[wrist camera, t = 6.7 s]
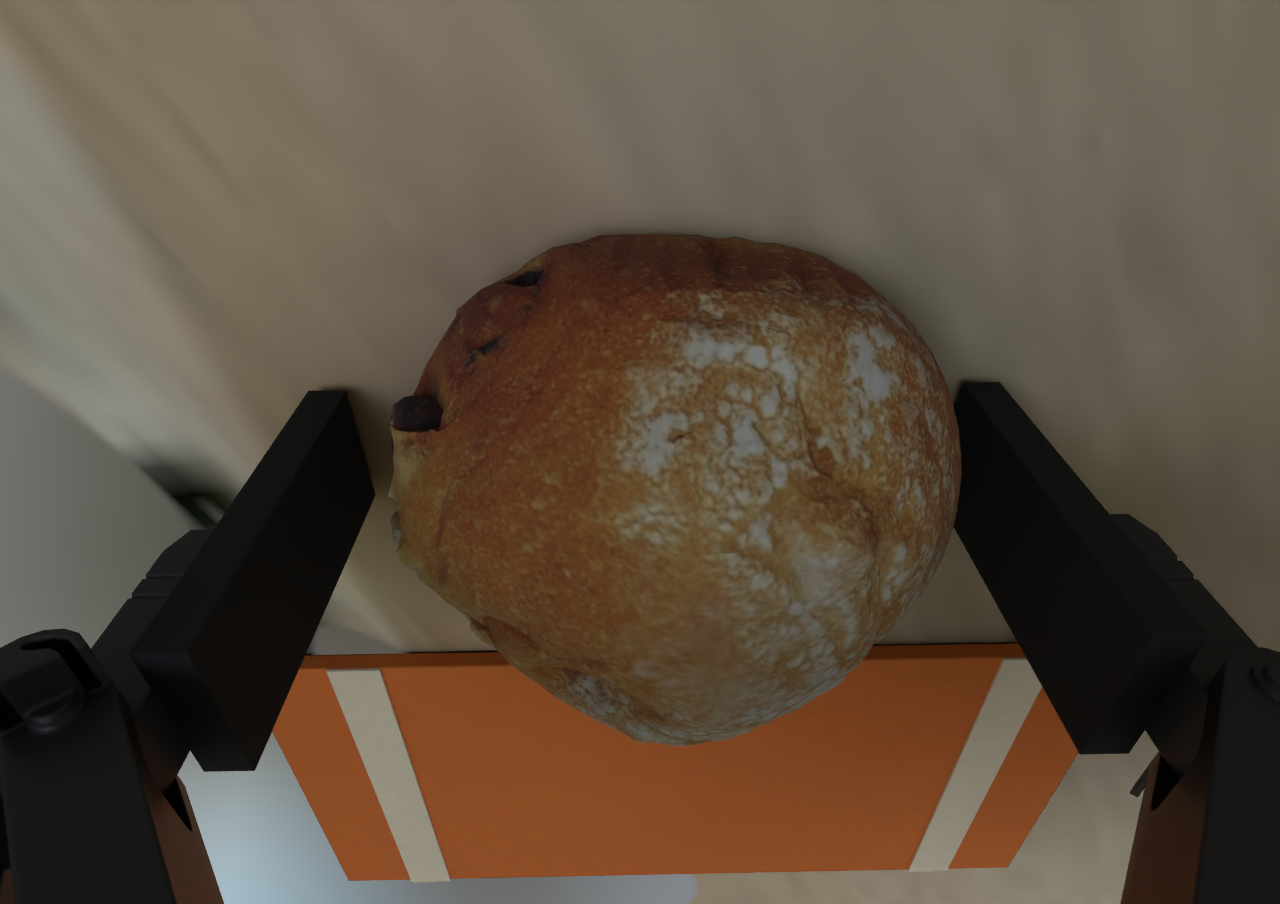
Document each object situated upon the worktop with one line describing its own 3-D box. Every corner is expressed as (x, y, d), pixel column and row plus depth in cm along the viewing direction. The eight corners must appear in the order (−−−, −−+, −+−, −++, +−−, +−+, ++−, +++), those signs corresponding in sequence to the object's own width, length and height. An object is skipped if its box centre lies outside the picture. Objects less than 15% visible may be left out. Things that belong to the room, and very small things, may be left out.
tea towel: (247, 655, 20) (238, 673, 19) (1129, 640, 20) (1141, 657, 19) (352, 866, 27) (347, 883, 26) (1002, 853, 27) (1009, 870, 26)
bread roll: (700, 526, 22) (865, 771, 17) (336, 560, 16) (414, 940, 11) (863, 214, 16) (1182, 433, 11) (400, 109, 11) (608, 443, 6)
